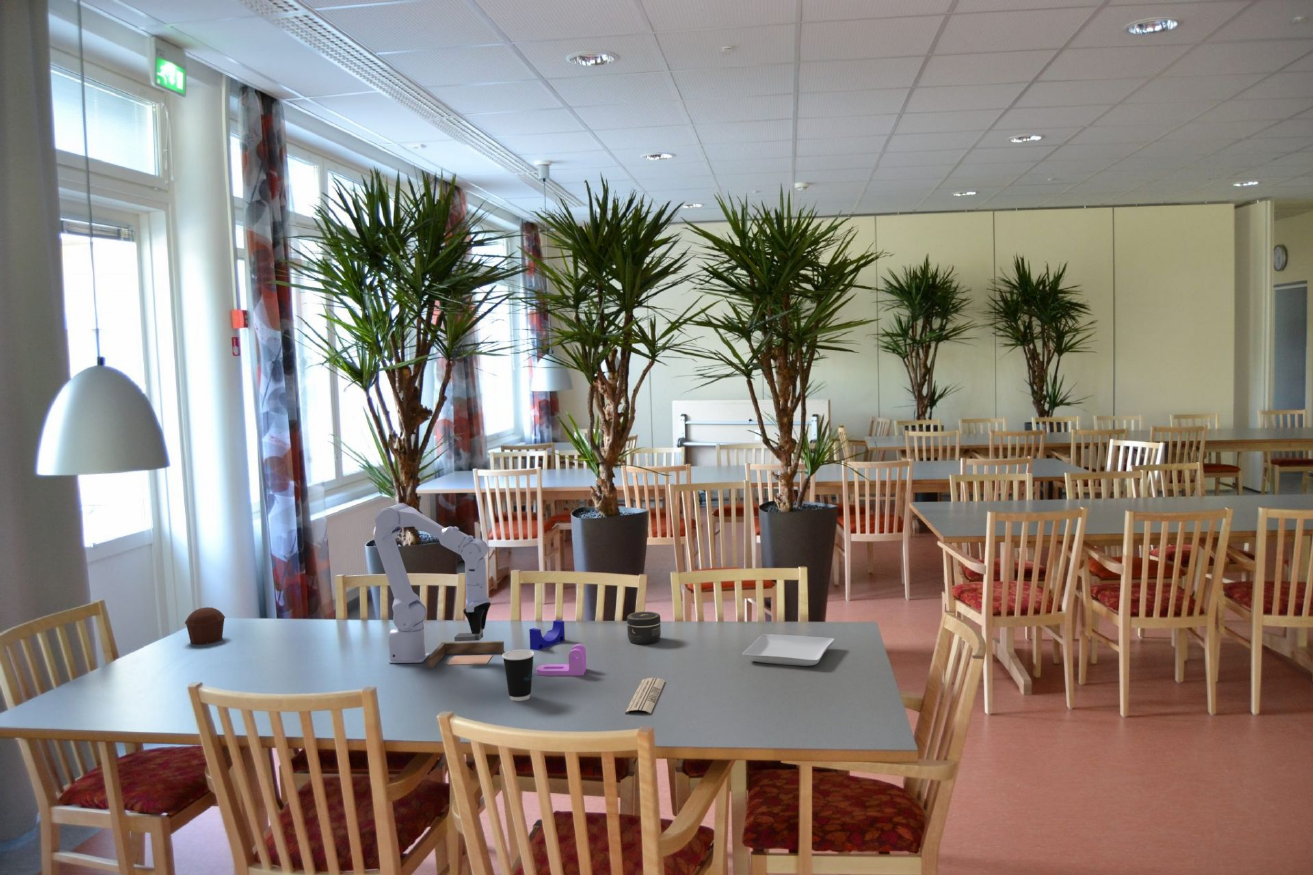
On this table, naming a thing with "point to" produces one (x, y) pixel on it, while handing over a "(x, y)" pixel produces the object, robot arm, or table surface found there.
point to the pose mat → (470, 660)
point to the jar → (643, 627)
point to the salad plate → (788, 649)
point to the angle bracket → (469, 636)
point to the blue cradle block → (547, 636)
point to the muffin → (205, 625)
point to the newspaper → (646, 695)
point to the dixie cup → (519, 673)
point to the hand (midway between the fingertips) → (478, 631)
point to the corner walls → (464, 649)
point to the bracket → (573, 668)
